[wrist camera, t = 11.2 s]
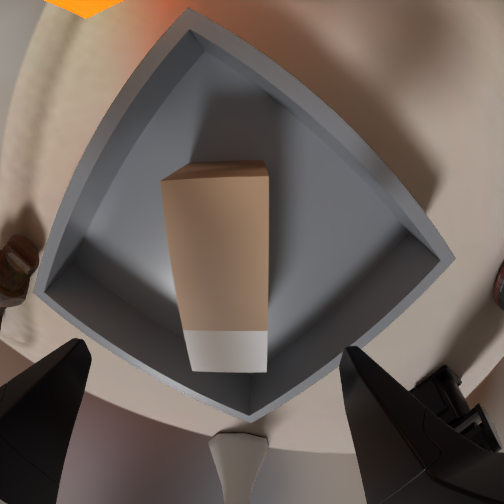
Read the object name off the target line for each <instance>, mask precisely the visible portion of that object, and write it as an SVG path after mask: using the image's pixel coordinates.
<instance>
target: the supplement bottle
mask: <svg viewBox="0 0 504 504" xmlns="http://www.w3.org/2000/svg"><path fill="white" fill-rule="evenodd" d="M494 298H495V301H496V302H497V304H498V305H499V306H500V307H501V308H502V309H503V310H504V264H503V266H502V268H501V269H500V271H499V273H498V276H497V279H496V282H495V286H494Z"/></svg>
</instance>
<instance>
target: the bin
mask: <svg viewBox="0 0 504 504" xmlns="http://www.w3.org/2000/svg"><path fill="white" fill-rule="evenodd" d="M241 160H264V162H265V165H266V168H267V172H268V175H269V275H268V338H267V372H253V373H238V372H201V371H192V368H191V364H190V360H189V355H188V351H187V346H186V342H185V337H184V332H183V328H182V323H181V318H180V313H179V308H178V302H177V297H176V291H175V286H174V280H173V274H172V268H171V261H170V255H169V248H168V241H167V234H166V226H165V218H164V210H163V201H162V192H161V182H160V181H161V180H163V179H164V178H166V177H167V176H169V175H170V174H172V173H173V172H175V171H177V170H178V169H180V168H181V167H183V166H185V165H186V164H188V163H195V162H213V161H241ZM455 259H456V258H455V256H454V255H453V253H452V251H451V250H450V248H449V247H448V245H447V244H446V242H445V241H444V239H443V238H442V236H441V235H440V233H439V232H438V230H437V229H436V228H435V226H434V225H433V223H432V222H431V221H430V219H429V218H428V216H427V215H426V214H425V212H424V211H423V210H422V208H421V207H420V206H419V204H418V203H417V202H416V200H415V199H414V198H413V197H412V195H411V194H410V193H409V191H408V190H407V189H406V188H405V187H404V185H403V184H402V183H401V182H400V180H399V179H398V178H397V177H396V176H395V174H394V173H393V172H392V171H391V170H390V169H389V168H388V166H387V165H386V164H385V163H384V162H383V161H382V160H381V158H380V157H379V156H378V155H377V154H376V153H375V152H374V151H373V150H372V149H371V148H370V147H369V145H368V144H367V143H366V142H365V141H364V140H363V139H362V138H361V137H360V136H359V135H358V134H357V133H356V132H355V131H354V130H353V129H352V128H351V127H350V126H349V125H348V124H347V123H346V122H345V121H344V120H343V119H342V118H341V117H340V116H339V115H337V114H336V113H335V112H334V111H333V110H332V109H331V108H330V107H329V106H328V105H327V104H325V103H324V102H323V101H322V100H321V99H320V98H319V97H318V96H316V95H315V94H314V93H313V92H312V91H311V90H309V89H308V88H307V87H306V86H305V85H303V84H302V83H301V82H300V81H299V80H297V79H296V78H295V77H294V76H292V75H291V74H290V73H289V72H287V71H286V70H285V69H283V68H282V67H281V66H280V65H278V64H277V63H276V62H274V61H273V60H271V59H270V58H269V57H267V56H266V55H265V54H263V53H262V52H260V51H259V50H257V49H256V48H255V47H253V46H252V45H250V44H249V43H247V42H246V41H244V40H243V39H241V38H240V37H238V36H237V35H235V34H233V33H232V32H230V31H229V30H227V29H225V28H224V27H222V26H220V25H219V24H217V23H215V22H214V21H212V20H210V19H208V18H207V17H205V16H203V15H201V14H199V13H198V12H196V11H194V10H192V9H190V8H187V9H186V10H185V11H184V12H183V13H182V14H181V15H180V16H179V17H178V18H177V20H176V21H175V22H174V23H173V24H172V25H171V26H170V27H169V28H168V29H167V31H166V32H165V33H164V34H163V35H162V36H161V38H160V39H159V40H158V41H157V42H156V44H155V45H154V46H153V47H152V48H151V50H150V51H149V52H148V53H147V55H146V56H145V57H144V59H143V60H142V61H141V62H140V64H139V65H138V66H137V68H136V69H135V71H134V72H133V73H132V75H131V76H130V77H129V79H128V80H127V82H126V83H125V85H124V86H123V88H122V89H121V91H120V92H119V94H118V95H117V97H116V98H115V100H114V101H113V103H112V104H111V106H110V108H109V109H108V111H107V112H106V114H105V116H104V117H103V119H102V121H101V123H100V124H99V126H98V128H97V130H96V131H95V133H94V135H93V137H92V139H91V140H90V142H89V144H88V146H87V148H86V150H85V152H84V154H83V156H82V158H81V160H80V162H79V164H78V166H77V168H76V170H75V172H74V174H73V177H72V179H71V181H70V183H69V186H68V188H67V190H66V193H65V195H64V197H63V200H62V202H61V205H60V207H59V210H58V212H57V215H56V218H55V220H54V223H53V226H52V229H51V232H50V235H49V238H48V241H47V244H46V247H45V250H44V253H43V257H42V260H41V264H40V267H39V271H38V275H37V278H36V282H35V286H34V291H33V293H34V294H35V295H36V296H38V297H39V298H40V299H41V300H42V301H43V302H45V303H46V304H47V305H48V306H49V307H51V308H52V309H53V310H54V311H56V312H57V313H58V314H59V315H61V316H62V317H63V318H64V319H66V320H67V321H68V322H70V323H71V324H72V325H74V326H75V327H76V328H78V329H79V330H80V331H82V332H83V333H84V334H86V335H87V336H89V337H90V338H91V339H93V340H94V341H96V342H97V343H99V344H100V345H102V346H103V347H105V348H106V349H108V350H109V351H111V352H112V353H114V354H115V355H117V356H118V357H120V358H122V359H123V360H125V361H126V362H128V363H130V364H131V365H133V366H135V367H136V368H138V369H140V370H141V371H143V372H145V373H146V374H148V375H150V376H152V377H153V378H155V379H157V380H159V381H161V382H163V383H164V384H166V385H168V386H170V387H172V388H174V389H176V390H178V391H180V392H182V393H184V394H186V395H188V396H190V397H192V398H194V399H196V400H198V401H200V402H202V403H204V404H206V405H209V406H211V407H213V408H215V409H218V410H220V411H222V412H225V413H227V414H229V415H232V416H234V417H236V418H239V419H241V420H244V421H247V422H249V423H252V422H254V421H256V420H258V419H259V418H261V417H263V416H265V415H266V414H268V413H270V412H271V411H273V410H275V409H276V408H278V407H279V406H281V405H283V404H284V403H286V402H287V401H289V400H291V399H292V398H294V397H295V396H297V395H298V394H300V393H301V392H303V391H304V390H306V389H307V388H309V387H310V386H312V385H313V384H315V383H316V382H317V381H319V380H320V379H322V378H323V377H325V376H326V375H327V374H329V373H330V372H331V371H333V370H334V369H336V368H337V367H338V366H339V365H340V361H341V357H342V353H343V350H344V348H345V347H346V346H358V347H359V348H360V349H361V348H363V347H364V346H365V345H366V344H368V343H369V342H370V341H371V340H372V339H374V338H375V337H376V336H377V335H378V334H379V333H381V332H382V331H383V330H384V329H385V328H386V327H388V326H389V325H390V324H391V323H392V322H393V321H394V320H395V319H396V318H398V317H399V316H400V315H401V314H402V313H403V312H404V311H405V310H406V309H407V308H408V307H409V306H410V305H412V304H413V303H414V302H415V301H416V300H417V299H418V298H419V297H420V296H421V295H422V294H423V293H424V292H425V291H426V290H427V289H428V288H429V287H430V286H431V285H432V284H433V283H434V282H435V281H436V279H437V278H438V277H439V276H440V275H441V274H442V273H443V272H444V271H445V270H446V269H447V268H448V267H449V265H450V264H451V263H452V262H453V261H454V260H455Z"/></svg>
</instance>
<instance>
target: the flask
mask: <svg viewBox="0 0 504 504" xmlns="http://www.w3.org/2000/svg"><path fill="white" fill-rule="evenodd" d="M208 443H209V447H210V450H211V453H212V456H213V459H214V462H215V465H216V468H217V471H218V474H219V478H220V481H221V484H222V488H223V495H224V504H249V501H250V496H251V491H252V488H253V485H254V483H255V480H256V477H257V475H258V472H259V470H260V468H261V465H262V463H263V461H264V458H265V456H266V454H267V451H268V443H267V438H262V437H258V436H254V435H250V434H246V433H231V434H217V435H216V436H215V437H214V438H212V439H211V440H210V441H209V442H208Z"/></svg>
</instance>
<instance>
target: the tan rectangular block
mask: <svg viewBox="0 0 504 504" xmlns="http://www.w3.org/2000/svg"><path fill="white" fill-rule="evenodd" d="M160 182H161V192H162V201H163V210H164V218H165V226H166V234H167V241H168V248H169V255H170V261H171V268H172V274H173V280H174V286H175V291H176V297H177V302H178V308H179V313H180V318H181V323H182V328H183V332H184V337H185V342H186V346H187V351H188V355H189V360H190V364H191V368H192V371H201V372H238V373H253V372H267V338H268V275H269V175H268V172H267V168H266V165H265V162H264V160H241V161H213V162H195V163H188V164H186V165H185V166H183V167H181V168H180V169H178V170H177V171H175V172H173V173H172V174H170V175H169V176H167V177H166V178H164V179H163V180H161V181H160Z"/></svg>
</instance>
